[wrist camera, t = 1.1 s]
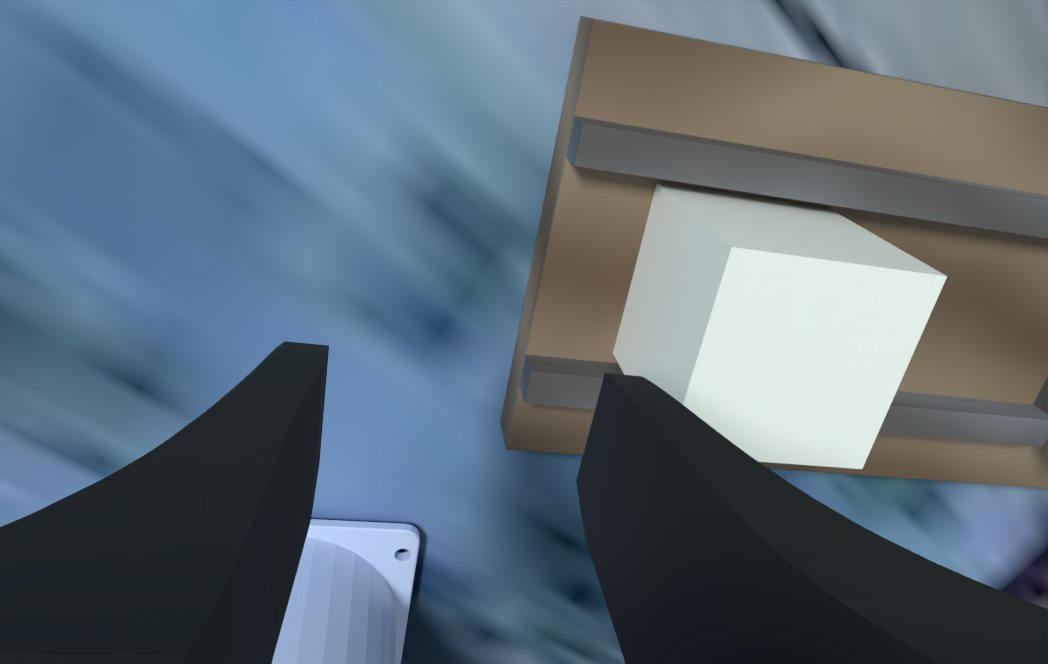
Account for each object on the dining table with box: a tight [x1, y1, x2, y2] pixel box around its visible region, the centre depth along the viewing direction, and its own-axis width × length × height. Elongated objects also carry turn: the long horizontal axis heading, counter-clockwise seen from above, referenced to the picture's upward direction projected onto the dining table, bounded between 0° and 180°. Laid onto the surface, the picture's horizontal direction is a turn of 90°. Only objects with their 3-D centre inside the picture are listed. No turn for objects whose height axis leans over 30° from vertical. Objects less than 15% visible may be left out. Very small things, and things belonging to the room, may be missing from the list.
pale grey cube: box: [613, 182, 947, 469], centre depth 19 cm, size 5×5×5 cm
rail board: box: [501, 16, 1048, 488], centre depth 22 cm, size 12×22×4 cm, turn 79°
